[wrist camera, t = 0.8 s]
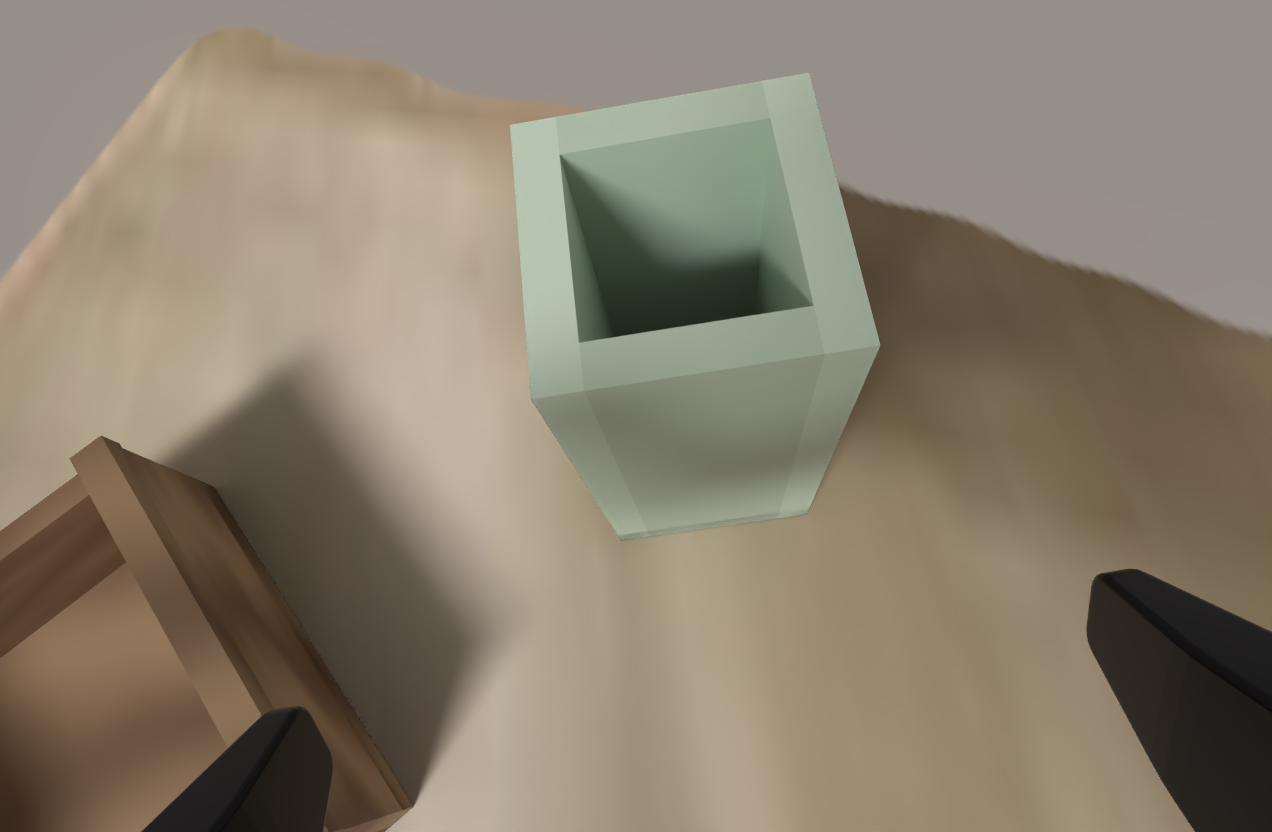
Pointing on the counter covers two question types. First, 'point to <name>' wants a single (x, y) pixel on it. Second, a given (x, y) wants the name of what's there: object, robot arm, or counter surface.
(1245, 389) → the counter surface
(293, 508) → the counter surface
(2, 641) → the walnut crate
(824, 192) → the sage crate
